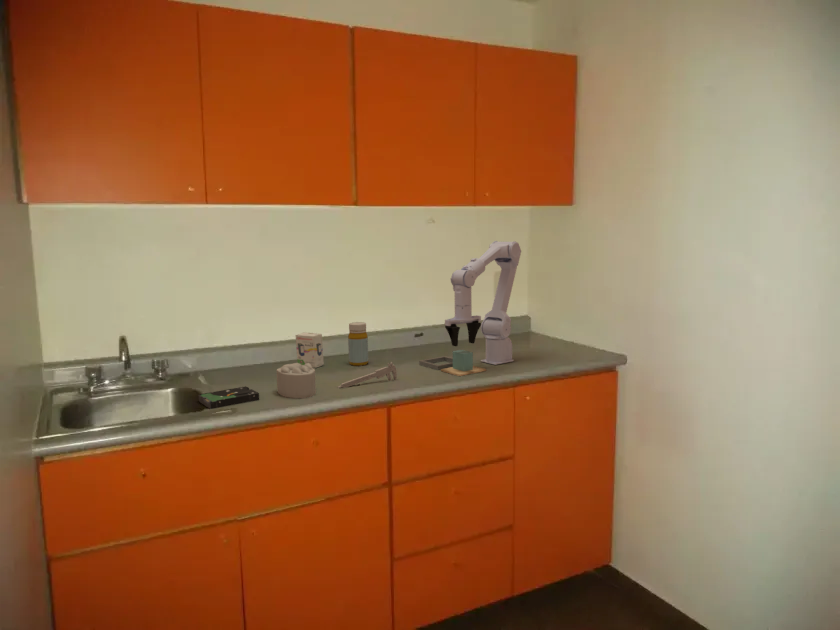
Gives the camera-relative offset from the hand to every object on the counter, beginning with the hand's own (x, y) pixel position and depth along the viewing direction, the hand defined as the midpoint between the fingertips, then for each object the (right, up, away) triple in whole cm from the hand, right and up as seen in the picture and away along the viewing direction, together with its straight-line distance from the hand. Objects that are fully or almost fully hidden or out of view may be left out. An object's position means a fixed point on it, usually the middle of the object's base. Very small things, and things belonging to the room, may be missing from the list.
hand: (463, 344), depth 221 cm
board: (0, -9, +1) cm, 9 cm away
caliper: (-32, -12, -14) cm, 37 cm away
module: (0, -9, +2) cm, 9 cm away
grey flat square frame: (-7, -8, +11) cm, 15 cm away
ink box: (-55, -9, +13) cm, 57 cm away
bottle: (-37, -8, +15) cm, 41 cm away
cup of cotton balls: (-52, -14, -24) cm, 59 cm away
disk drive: (-71, -16, -31) cm, 79 cm away
